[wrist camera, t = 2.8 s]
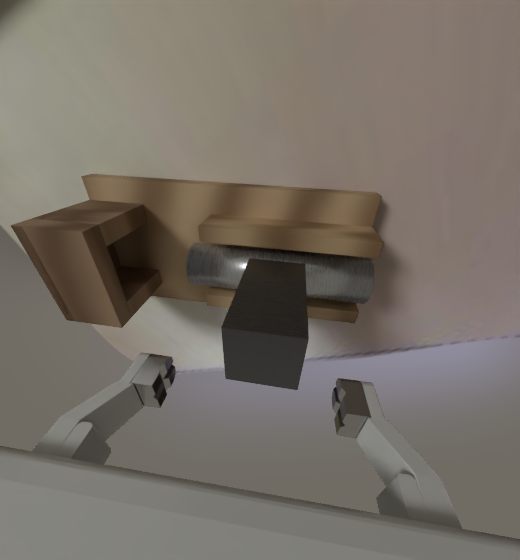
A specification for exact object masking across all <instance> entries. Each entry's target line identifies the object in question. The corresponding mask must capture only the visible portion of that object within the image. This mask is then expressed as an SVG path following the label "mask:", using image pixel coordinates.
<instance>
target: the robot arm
mask: <svg viewBox="0 0 520 560" xmlns="http://www.w3.org/2000/svg"><path fill="white" fill-rule="evenodd" d="M172 362H173V359H172V357H169V356H163V355H156V354H149V353H141V354H139V355H138V357H137V358H136V359H135V361H134V362H133V364H132V365H131V366H130V368H129V369H128V371H127V372H126V373H125V375H124V376H123V378H122V379H121V380H120V382H119V381H116V382H115V383H113V384H112V385H110V386H108V387H107V388H105V389H104V390H102V391H100V392H99V393H97V394H96V395H94V396H92V397H91V398H89V399H88V400H86V401H85V402H83V403H81V404H80V405H78V406H77V407H75V408H73V409H72V410H71V411H69V412H67V413H66V414H64V415H62V416H61V417H60V418H59V419H58V420H57V422H56V423H55V424H54V425H53V426H52V428H51V429H50V430H49V431H48V432H47V434H46V435H45V436H44V437H43V438H42V439H41V441H40V442H39V443H38V444H37V445H36V447H35V448H34V449H33V450H32V451H27V450H21V449H15V448H10V447H4V446H0V560H520V539H516V538H510V537H505V536H499V535H494V534H487V533H483V532H477V531H471V530H465V529H462V527H461V525H460V522H459V520H458V518H457V515H456V513H455V511H454V508H453V506H452V504H451V501H450V499H449V497H448V494H447V492H446V490H445V487H444V485H443V483H442V480H441V479H440V477H439V476H438V475H437V474H436V473H435V472H434V471H433V470H432V469H431V468H430V466H429V465H428V464H427V463H426V462H425V461H424V460H423V459H422V457H421V456H420V455H419V454H418V453H417V452H416V451H415V450H414V448H413V447H412V446H411V445H410V444H409V443H408V442H407V441H406V440H405V439H404V437H403V436H402V435H401V434H400V433H399V432H398V431H397V429H396V428H394V426H393V425H392V424H391V423H390V422H389V421H388V420H385V418H384V415H383V412H382V409H381V406H380V403H379V400H378V397H377V395H376V391H375V388H374V385H373V384H372V383H370V382H362V381H357V380H348V379H339V378H338V379H337V381H336V387H335V388H334V389H333V393H332V406H333V410H334V411H335V413H336V416H335V426H336V433H337V435H340V436H346V437H351V438H356V440H357V442H358V443H359V445H360V447H361V448H362V450H363V451H364V453H365V454H366V456H367V457H368V459H369V461H370V462H371V464H372V465H373V467H374V468H375V470H376V472H377V473H378V475H379V476H380V478H381V479H382V481H383V482H384V484H385V486H386V488H385V489H384V490H383V491H382V492H381V493H380V494H379V495H378V497H377V498H376V499H377V503H378V508H379V512H380V514H377V513H371V512H366V511H360V510H354V509H349V508H344V507H338V506H332V505H327V504H321V503H316V502H310V501H304V500H299V499H294V498H288V497H282V496H277V495H271V494H266V493H260V492H255V491H249V490H244V489H238V488H232V487H227V486H221V485H216V484H210V483H204V482H198V481H193V480H188V479H182V478H176V477H171V476H166V475H160V474H155V473H149V472H143V471H138V470H132V469H127V468H121V467H115V466H110V465H104V464H105V462H106V460H107V458H108V457H109V455H110V453H111V449H110V447H109V446H108V444H107V443H106V442H105V441H106V440H107V439H108V438H109V437H110V436H111V435H112V434H114V433H115V432H116V431H117V430H118V429H119V428H120V427H121V426H122V425H124V424H125V423H126V422H127V421H128V420H129V419H130V418H131V417H133V416H134V415H135V414H136V413H137V412H138V411H139V410H140V409H142V408H143V406H149V407H157V408H160V407H161V406H162V403H163V401H164V400H165V398H166V395H167V393H166V390H167V389H168V388H169V387H171V385H172V383H173V381H174V378H175V371H176V370H175V367H174V366H173V365H172Z"/></svg>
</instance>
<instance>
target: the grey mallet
mask: <svg viewBox="0 0 520 560" xmlns="http://www.w3.org/2000/svg"><path fill="white" fill-rule="evenodd" d="M186 270H187V277H188V280H189V282H190V283H191V284H195V285H204V286H212V287H221V288H230V289H237V290H236V293H235V295H234V298H233V300H232V303H231V305H230V308H229V310H228V313H227V315H226V317H225V320H224V322H223V325H222V327H221V328H222V340H223V352H224V364H225V375H226V379H231V380H237V381H244V382H250V383H256V384H262V385H269V386H275V387H282V388H288V389H294V390H297V389H298V385H299V380H300V375H301V371H302V367H303V362H304V358H305V353H306V348H307V344H308V339H309V338H308V315H307V297H308V298H317V299H326V300H335V301H343V302H352V303H361V304H364V303H366V302H367V301H368V299H369V297H370V295H371V292H372V289H373V284H374V266H373V263H372V261H371V260H370V259H369V258H358V257H347V256H337V255H326V254H316V253H305V252H294V251H284V250H273V249H263V248H252V247H242V246H231V245H220V244H210V243H199V242H195V243H194V244H193V245H192V246H191V248H190V250H189V253H188V257H187V264H186Z"/></svg>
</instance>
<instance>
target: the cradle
mask: <svg viewBox="0 0 520 560" xmlns="http://www.w3.org/2000/svg"><path fill="white" fill-rule="evenodd" d="M81 177H82V180H83V182H84V185H85V188H86V190H87V193H88V196H89V198H90V200H88V201H85V202H82V203H79V204H76V205H72V206H69V207H66V208H63V209H60V210H57V211H54V212H51V213H48V214H45V215H41V216H38V217H35V218H32V219H29V220H26V221H23V222H20V223H17V224H14V225H11V227H12V228H13V230H14V232H15V233H16V235H17V237H18V239H19V240H20V242H21V244H22V245H23V247H24V249H25V250H26V252H27V254H28V255H29V257H30V259H31V260H32V262H33V264H34V266H35V267H36V269H37V271H38V272H39V274H40V276H41V277H42V279H43V281H44V282H45V284H46V286H47V287H48V289H49V291H50V292H51V294H52V296H53V298H54V299H55V301H56V303H57V304H58V306H59V308H60V309H61V311H62V313H63V314H64V316H65V318H66V319H67V320H70V321H77V322H85V323H92V324H99V325H106V326H113V327H120V328H122V327H123V326H124V325H125V324H126V323H127V322H128V321H129V319H130V318H131V317H132V316H133V315H134V314H135V313H136V312H137V311H138V310H139V308H140V307H141V306H142V305H143V304H144V303H145V302H146V301H147V300H148V299H149V297H150V296H160V297H168V298H176V299H184V300H192V301H200V302H207V305H213V306H221V307H229V308H230V305H231V303H232V300H233V298H234V295H235V293H236V290H237V289H230V288H221V287H212V286H204V285H195V284H191V283H190V282H189V280H188V277H187V270H186V264H187V257H188V253H189V250H190V248H191V246H192V245H193V244H194V243H195V242H199V243H210V244H220V245H231V246H242V247H252V248H263V249H273V250H284V251H294V252H305V253H316V254H326V255H337V256H347V257H358V258H362V257H368V258H379V255H380V252H381V249H382V247H383V244H384V242H383V241H382V239H381V238H380V237H379V235H378V234H377V233H376V231H375V230H374V229H373V228H372V226H373V223H374V220H375V216H376V213H377V210H378V207H379V204H380V201H381V198H382V196H381V195H379V194H378V193H372V192H357V191H342V190H327V189H311V188H296V187H281V186H265V185H250V184H235V183H220V182H204V181H189V180H174V179H158V178H143V177H128V176H112V175H97V174H91V175H86V176H81ZM358 313H359V312H358V309H357V306H356V303H352V302H343V301H335V300H326V299H317V298H308V297H307V315H308V317H310V318H318V319H326V320H334V321H342V322H351V323H355V321H356V318H357V316H358Z"/></svg>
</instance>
